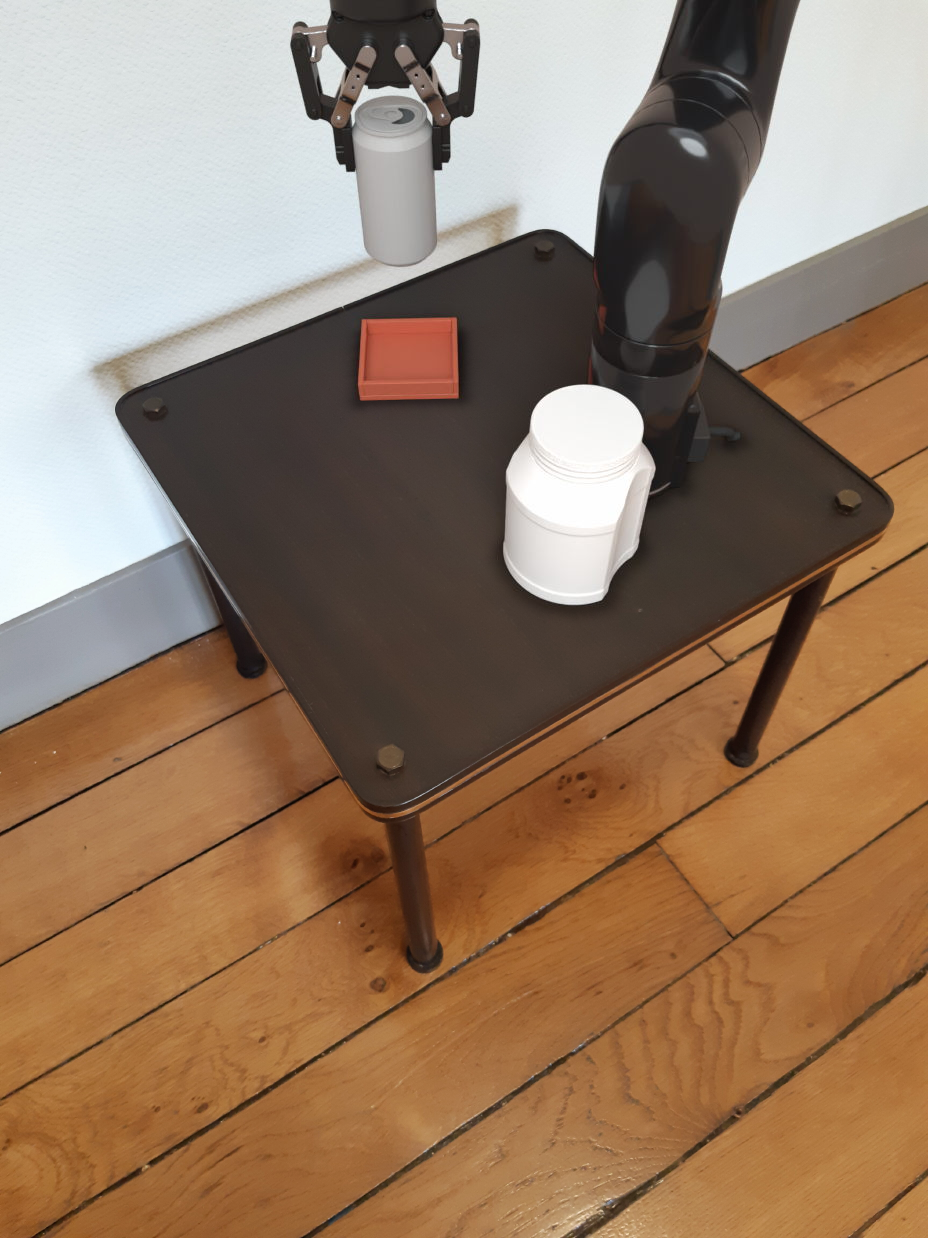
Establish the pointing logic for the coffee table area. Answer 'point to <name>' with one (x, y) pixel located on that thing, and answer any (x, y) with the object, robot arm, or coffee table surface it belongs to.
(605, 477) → the jar
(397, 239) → the beverage can
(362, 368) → the red tray
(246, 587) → the coffee table surface
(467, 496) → the coffee table surface
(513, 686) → the coffee table surface
